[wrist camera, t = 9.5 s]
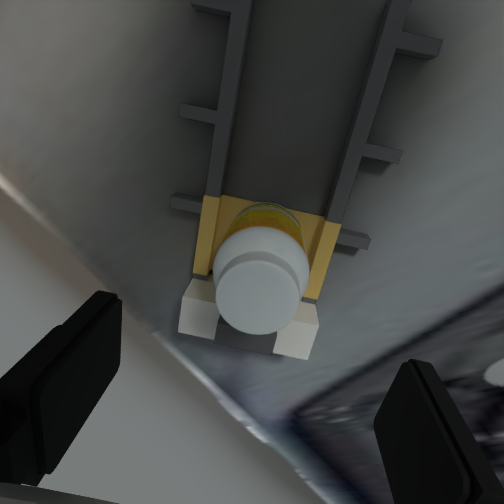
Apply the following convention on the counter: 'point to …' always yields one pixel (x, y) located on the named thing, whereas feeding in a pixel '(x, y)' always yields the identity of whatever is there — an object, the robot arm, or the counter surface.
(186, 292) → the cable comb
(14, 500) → the robot arm
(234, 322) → the supplement bottle
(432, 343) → the counter surface
